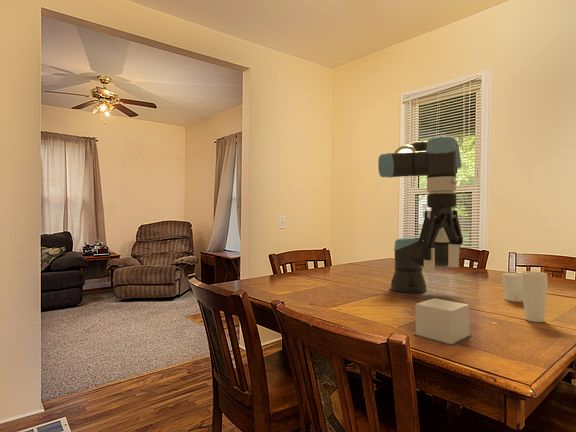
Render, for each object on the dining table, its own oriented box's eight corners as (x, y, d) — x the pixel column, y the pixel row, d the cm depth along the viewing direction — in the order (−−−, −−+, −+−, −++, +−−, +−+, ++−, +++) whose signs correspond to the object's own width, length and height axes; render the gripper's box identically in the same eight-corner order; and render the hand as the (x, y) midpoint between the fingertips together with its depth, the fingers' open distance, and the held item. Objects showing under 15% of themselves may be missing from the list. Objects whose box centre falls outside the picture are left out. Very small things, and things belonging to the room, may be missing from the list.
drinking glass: (516, 317, 119) (516, 271, 119) (536, 317, 120) (536, 270, 120) (532, 324, 112) (532, 275, 112) (553, 323, 113) (553, 274, 113)
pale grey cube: (415, 335, 104) (415, 303, 103) (434, 327, 110) (434, 298, 110) (451, 345, 96) (451, 311, 96) (469, 336, 102) (469, 304, 102)
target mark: (413, 335, 104) (413, 334, 104) (433, 327, 111) (433, 326, 111) (452, 345, 95) (452, 345, 95) (471, 336, 102) (471, 335, 102)
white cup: (530, 302, 138) (530, 276, 138) (507, 302, 140) (507, 275, 140) (521, 297, 146) (521, 272, 146) (499, 297, 148) (499, 272, 147)
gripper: (430, 191, 92) (431, 276, 92) (475, 193, 108) (475, 266, 108) (404, 192, 97) (404, 273, 98) (450, 194, 113) (450, 263, 114)
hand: (441, 269), depth 103 cm, fingers open, 13 cm apart
